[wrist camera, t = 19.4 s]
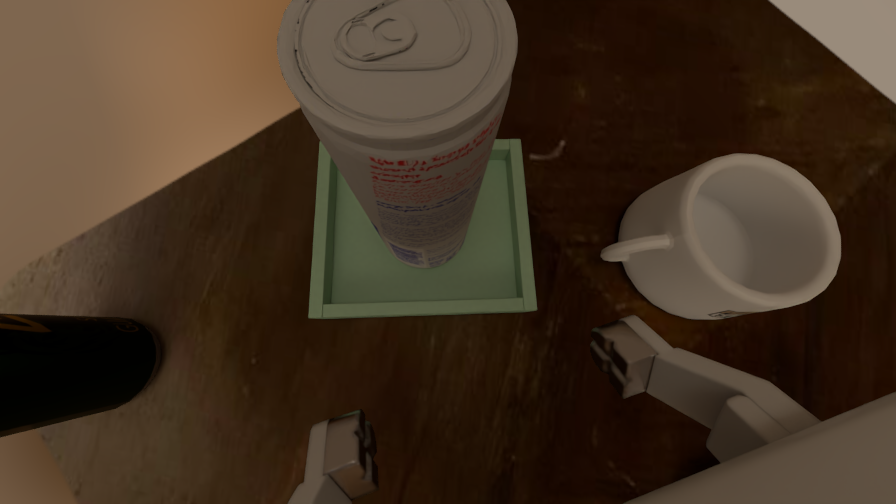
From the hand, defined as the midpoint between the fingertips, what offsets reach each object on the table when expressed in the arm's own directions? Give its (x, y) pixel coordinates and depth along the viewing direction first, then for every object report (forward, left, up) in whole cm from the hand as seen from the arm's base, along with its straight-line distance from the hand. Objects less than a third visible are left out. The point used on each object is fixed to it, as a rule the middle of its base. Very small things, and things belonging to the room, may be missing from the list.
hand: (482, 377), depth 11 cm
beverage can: (-2, +8, -10) cm, 13 cm away
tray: (-2, +8, -10) cm, 13 cm away
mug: (+15, +6, -10) cm, 19 cm away
